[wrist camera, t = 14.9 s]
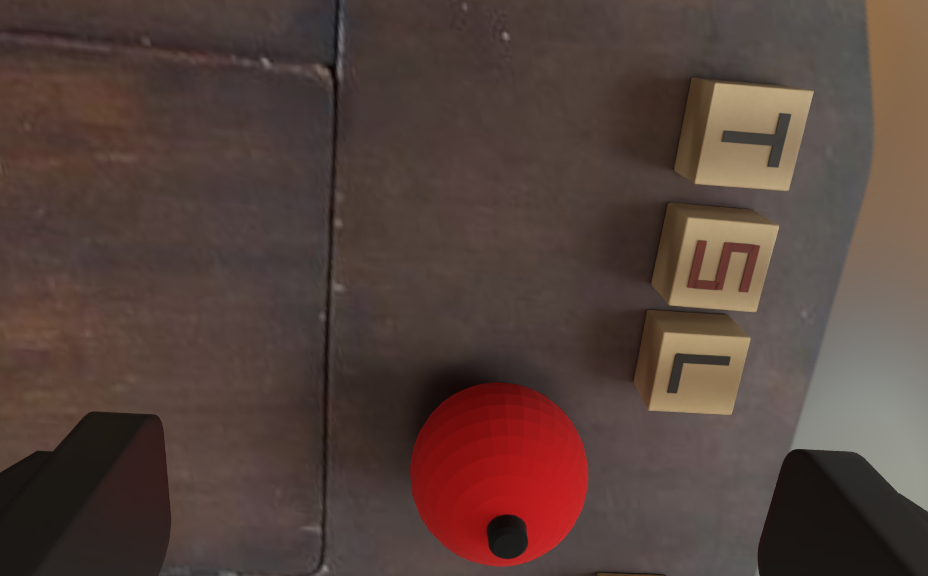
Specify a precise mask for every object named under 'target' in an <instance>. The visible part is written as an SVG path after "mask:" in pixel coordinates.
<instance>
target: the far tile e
mask: <svg viewBox="0 0 928 576" xmlns="http://www.w3.org/2000/svg"><path fill="white" fill-rule="evenodd" d="M596 576H666V575H649V574H622V573H597V575H596Z"/></svg>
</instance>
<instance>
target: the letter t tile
mask: <svg viewBox="0 0 928 576" xmlns="http://www.w3.org/2000/svg"><path fill="white" fill-rule="evenodd" d="M812 96H813V91H811V90H806V89H800V88H795V87H789V86H784V85H774V84H762V83H751V82H739V81H727V80H715V79H704V78H692V79H691V83H690V89H689V94H688V99H687V104H686V110H685V115H684V120H683V125H682V130H681V136H680V141H679V146H678V151H677V157H676V162H675V167H674V171H675V172H677V173H678V174H680V175H681V176H683V177H685V178H686V179H688V180H689V181H691V182H693V183H694V184H702V185H715V186H728V187H742V188H755V189H769V190H782V191H788V190H789V187H790V183H791V179H792V175H793V171H794V167H795V163H796V159H797V155H798V151H799V147H800V143H801V139H802V135H803V131H804V127H805V124H806V120H807V116H808V112H809V108H810V104H811V100H812Z"/></svg>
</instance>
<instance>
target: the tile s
mask: <svg viewBox="0 0 928 576" xmlns="http://www.w3.org/2000/svg"><path fill="white" fill-rule="evenodd" d="M778 229H779V225H777V224H775V223H774V222H772V221H770V220H769V219H767V218H765V217H764V216H762V215H760V214H758V213H757V212H755V211H753V210H749V209H738V208H727V207H716V206H705V205H694V204H683V203H672V202H669V203H668V205H667V210H666V215H665V220H664V224H663V229H662V234H661V239H660V244H659V248H658V253H657V258H656V263H655V267H654V272H653V277H652V282H651V285H652V286H653V287H654V288H655V289H656V291H657V292H658V293H659V294H660V295H661V297H662V298H663V299H664V300H665V302H666V303H667V304H668V305H671V306H684V307H696V308H709V309H721V310H734V311H747V312H756V310H757V307H758V303H759V299H760V295H761V292H762V288H763V284H764V281H765V277H766V273H767V270H768V266H769V262H770V258H771V255H772V251H773V247H774V244H775V240H776V236H777V233H778Z"/></svg>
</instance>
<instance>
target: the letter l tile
mask: <svg viewBox="0 0 928 576" xmlns="http://www.w3.org/2000/svg"><path fill="white" fill-rule="evenodd" d="M750 339H751V338H750V337H749V336H748V335H747V334H746V333H745V332H744V331H743V330H742V329H741V328H740V327H739V326H738V325H737V324H736V323H735V322H734V321H733V320H732V319H731V318H730V317H729V316H728V315H723V314H707V313H691V312H675V311H659V310H647V314H646V319H645V324H644V330H643V335H642V340H641V345H640V351H639V356H638V361H637V366H636V372H635V377H634V382H633V383H634V385H635V387H636V389H637V390H638V392H639V394H640V396H641V398H642V400H643V401H644V403H645V405H646V407H647V409H648V410H651V411H670V412H688V413H707V414H726V415H731V414H732V411H733V407H734V403H735V399H736V395H737V391H738V387H739V383H740V379H741V375H742V371H743V367H744V363H745V359H746V355H747V351H748V347H749V343H750Z"/></svg>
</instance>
